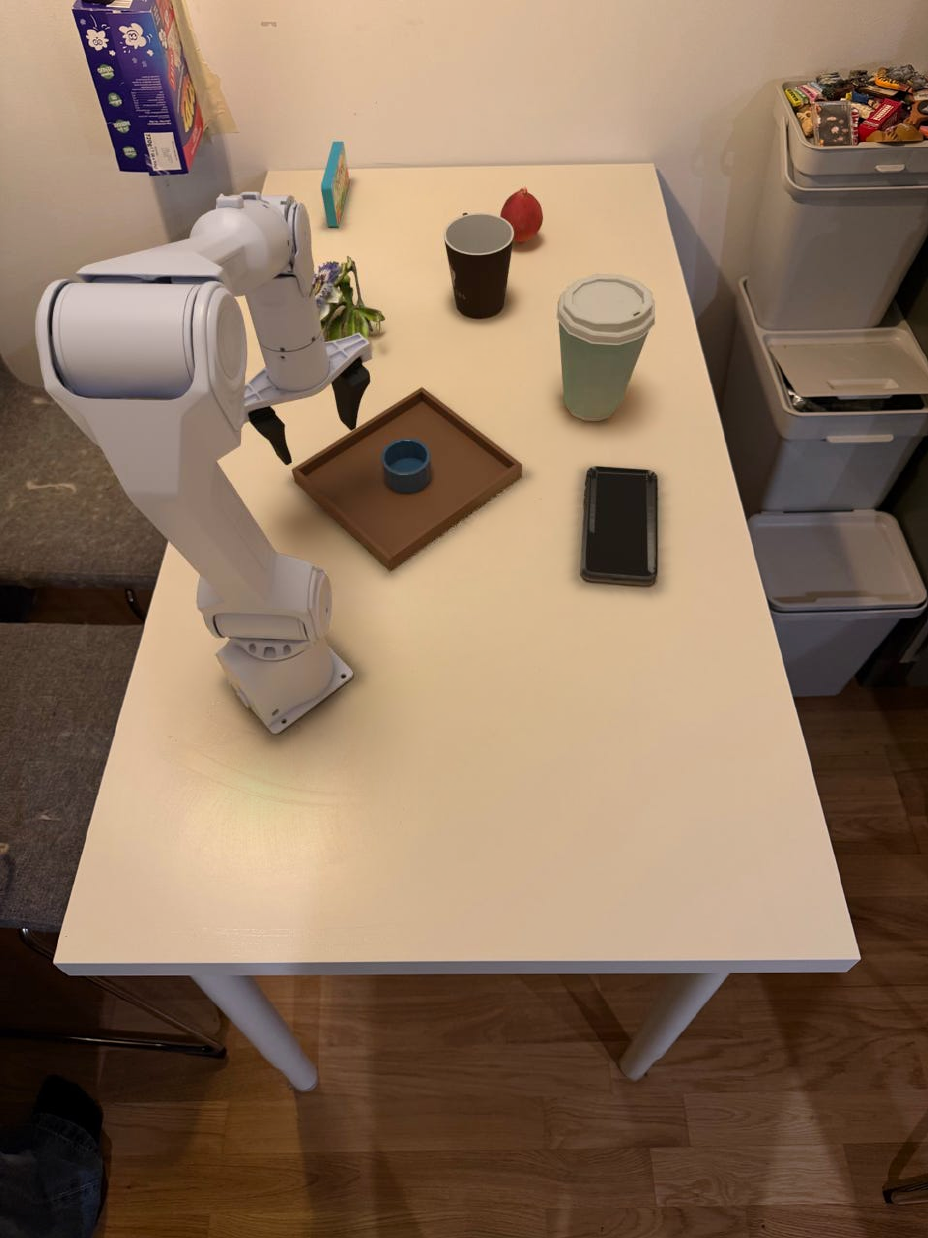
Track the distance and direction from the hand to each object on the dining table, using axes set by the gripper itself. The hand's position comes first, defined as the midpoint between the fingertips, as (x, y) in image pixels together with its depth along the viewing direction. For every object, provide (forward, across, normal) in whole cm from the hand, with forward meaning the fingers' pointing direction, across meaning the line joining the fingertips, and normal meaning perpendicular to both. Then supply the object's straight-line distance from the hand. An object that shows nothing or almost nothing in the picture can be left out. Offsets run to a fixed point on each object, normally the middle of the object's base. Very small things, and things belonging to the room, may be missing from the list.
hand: (316, 441), depth 85 cm
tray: (+9, -9, +2) cm, 13 cm away
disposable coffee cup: (+10, -33, +6) cm, 35 cm away
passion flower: (+10, -16, -23) cm, 30 cm away
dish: (+9, -9, +3) cm, 13 cm away
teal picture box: (+10, -31, -48) cm, 58 cm away
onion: (+10, -46, -24) cm, 53 cm away
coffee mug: (+10, -35, -18) cm, 40 cm away
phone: (+9, -22, +22) cm, 33 cm away
